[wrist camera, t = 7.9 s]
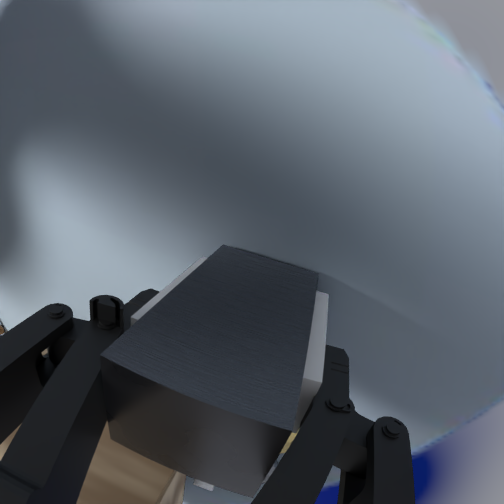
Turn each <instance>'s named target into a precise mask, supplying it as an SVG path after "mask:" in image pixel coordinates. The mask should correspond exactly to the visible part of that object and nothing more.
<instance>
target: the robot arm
mask: <svg viewBox="0 0 504 504" xmlns="http://www.w3.org/2000/svg"><path fill="white" fill-rule="evenodd" d="M206 259H207V258H206V257H203V256H202V257H201V258H200V259H199V260H197V261H196V262H195V263H194V264H193V265H191V266H190V267H189V268H188V269H187V270H185V271H184V272H183V273H182V274H181V275H179V276H178V277H177V278H176V279H175V280H173V281H172V282H171V283H170V284H169V285H168V286H166V287H165V288H164V289H163V290H162V291H160V292H159V291H156V290H153V289H148V290H145V291H142V292H140V293H139V294H138V295H136V296H135V297H134V298H132V299H131V300H130V301H129V302H127V303H126V304H125V305H124V304H123V302H122V301H121V300H120V299H119V298H117V297H114V296H110V295H99V296H96V297H93V298H92V299H91V300H90V318H91V320H90V321H86V320H81V319H77V318H73V312H72V309H71V308H70V307H69V306H67V305H64V304H60V303H55V304H50V305H48V306H45V307H44V308H42V309H41V310H39V311H38V312H36V313H35V314H33V315H32V316H30V317H29V318H27V319H26V320H24V321H23V322H21V323H20V324H18V325H17V326H15V327H14V328H12V329H11V330H9V331H8V332H6V333H5V334H3V335H2V336H1V337H0V445H1V443H2V442H3V441H4V440H5V439H6V438H7V437H8V436H9V435H10V434H11V433H12V432H13V431H14V430H15V429H16V428H17V427H18V426H19V425H20V424H21V423H22V424H21V425H20V427H19V429H18V431H17V432H16V434H15V436H14V438H13V439H12V441H11V443H10V445H9V446H8V448H7V450H6V452H5V454H4V456H3V457H2V459H1V461H0V504H76V503H77V500H78V497H79V494H80V491H81V489H82V486H83V483H84V480H85V477H86V475H87V472H88V469H89V466H90V464H91V461H92V458H93V456H94V453H95V450H96V448H97V445H98V443H99V440H100V437H101V435H102V432H103V430H104V427H105V425H106V422H107V414H106V407H105V400H104V391H103V382H102V373H101V361H100V354H101V353H102V352H104V351H105V350H106V349H107V348H108V347H109V346H110V345H111V344H112V343H113V342H114V341H116V340H117V339H118V338H119V337H120V336H121V335H122V334H123V333H124V332H125V331H127V330H128V329H129V328H130V327H131V326H132V325H133V324H134V323H135V322H136V321H138V320H139V319H140V318H141V317H142V316H143V315H144V314H145V313H146V312H148V311H149V310H150V309H151V308H152V307H153V306H154V305H155V304H156V303H158V302H159V301H160V300H161V299H162V298H163V297H164V296H165V295H167V294H168V293H169V292H170V291H171V290H172V289H173V288H174V287H176V286H177V285H178V284H179V283H180V282H181V281H182V280H184V279H185V278H186V277H187V276H188V275H189V274H190V273H191V272H193V271H194V270H195V269H196V268H197V267H198V266H199V265H201V264H202V263H203V262H204V261H205V260H206ZM328 301H329V294H326V293H323V292H319V291H316V298H315V305H314V312H313V319H312V326H311V332H310V339H309V345H308V351H307V357H306V363H305V369H304V375H303V380H302V386H301V391H300V396H299V402H298V407H297V412H296V417H295V422H294V427H293V431H292V433H297V431H298V429H299V431H298V433H297V435H296V436H295V438H294V440H293V441H292V443H291V445H290V446H289V448H288V449H287V451H286V453H285V454H284V456H283V457H282V459H281V460H280V462H279V464H278V465H277V467H276V468H275V470H274V471H273V473H272V474H271V476H270V477H269V479H268V480H267V482H266V483H265V484H264V486H263V487H262V489H261V490H260V492H259V493H258V494H257V496H256V497H255V499H254V500H253V501H252V503H251V504H314V503H315V501H316V499H317V497H318V495H319V493H320V491H321V489H322V487H323V485H324V483H325V481H326V479H327V476H328V474H329V472H330V470H331V468H332V466H333V465H334V466H336V467H338V468H340V469H341V476H340V485H339V494H338V502H337V504H415V494H414V479H413V467H412V457H411V448H410V440H409V433H408V430H407V428H406V426H405V425H404V424H403V423H402V422H401V421H399V420H398V419H396V418H393V417H381V418H378V419H377V420H376V422H373V421H371V420H369V419H367V418H365V417H363V416H361V415H359V414H358V413H357V412H356V411H355V407H354V404H353V402H352V401H351V400H350V399H349V368H348V367H349V358H348V356H347V354H346V352H345V351H344V349H340V348H336V347H333V346H329V345H326V332H327V318H328ZM45 349H47V352H48V353H46V354H45V355H42V352H43V351H44V350H45ZM299 427H300V428H299Z"/></svg>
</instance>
